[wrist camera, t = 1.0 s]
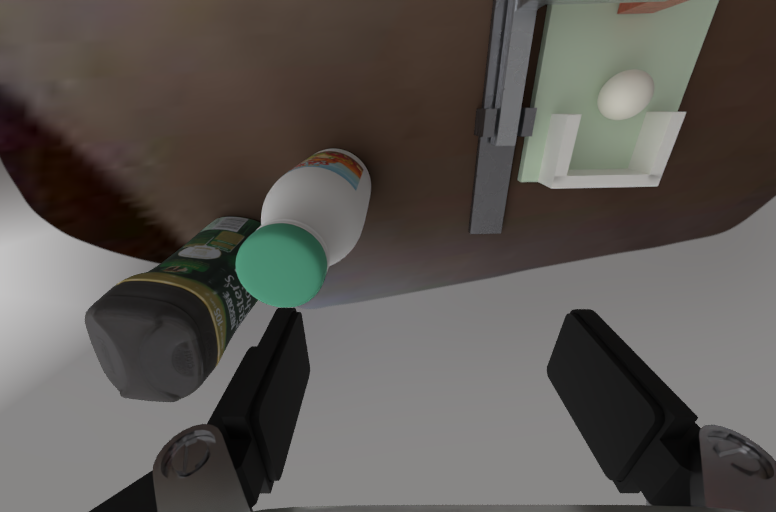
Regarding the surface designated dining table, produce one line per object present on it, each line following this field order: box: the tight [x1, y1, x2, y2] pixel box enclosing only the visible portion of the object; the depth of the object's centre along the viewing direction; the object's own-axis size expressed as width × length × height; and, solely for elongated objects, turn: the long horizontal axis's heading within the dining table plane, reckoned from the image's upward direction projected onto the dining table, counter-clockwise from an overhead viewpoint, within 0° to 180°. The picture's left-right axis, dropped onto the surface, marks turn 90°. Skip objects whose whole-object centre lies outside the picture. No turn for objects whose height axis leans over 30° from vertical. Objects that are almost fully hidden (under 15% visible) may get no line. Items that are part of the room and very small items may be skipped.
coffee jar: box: [85, 217, 261, 402], centre depth 29 cm, size 10×8×19 cm
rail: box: [469, 0, 537, 234], centre depth 28 cm, size 28×5×3 cm, turn 1°
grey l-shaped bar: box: [491, 0, 689, 146], centre depth 23 cm, size 18×14×7 cm
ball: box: [597, 69, 655, 120], centre depth 27 cm, size 4×4×4 cm
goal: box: [538, 111, 686, 189], centre depth 29 cm, size 7×10×3 cm, turn 91°
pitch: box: [517, 0, 719, 182], centre depth 28 cm, size 21×14×1 cm, turn 1°
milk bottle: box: [236, 148, 371, 308], centre depth 24 cm, size 8×8×20 cm
